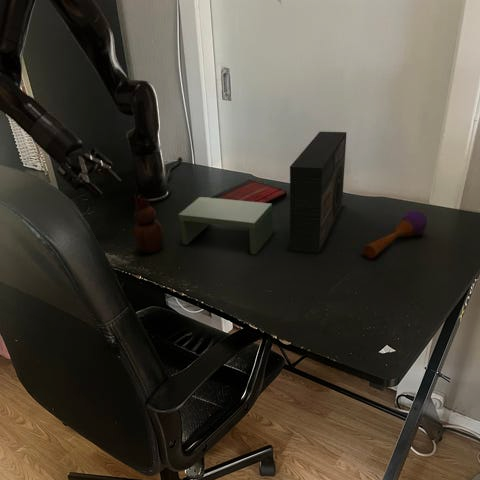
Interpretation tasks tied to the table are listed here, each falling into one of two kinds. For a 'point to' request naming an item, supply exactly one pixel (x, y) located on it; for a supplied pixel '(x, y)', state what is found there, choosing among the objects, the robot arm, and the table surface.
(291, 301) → the table surface
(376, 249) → the orange and purple maraca
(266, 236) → the desk shelf
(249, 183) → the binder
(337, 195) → the cassette player
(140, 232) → the wooden figurine
